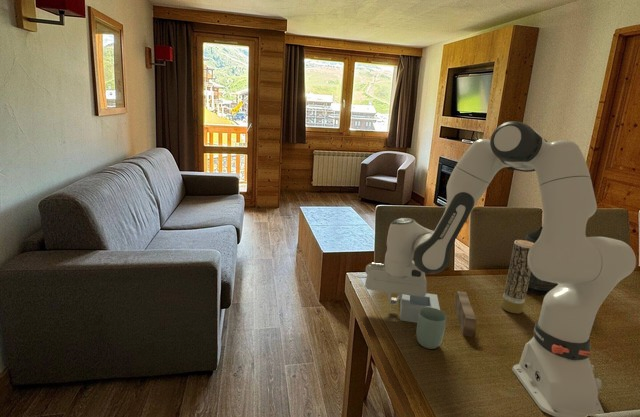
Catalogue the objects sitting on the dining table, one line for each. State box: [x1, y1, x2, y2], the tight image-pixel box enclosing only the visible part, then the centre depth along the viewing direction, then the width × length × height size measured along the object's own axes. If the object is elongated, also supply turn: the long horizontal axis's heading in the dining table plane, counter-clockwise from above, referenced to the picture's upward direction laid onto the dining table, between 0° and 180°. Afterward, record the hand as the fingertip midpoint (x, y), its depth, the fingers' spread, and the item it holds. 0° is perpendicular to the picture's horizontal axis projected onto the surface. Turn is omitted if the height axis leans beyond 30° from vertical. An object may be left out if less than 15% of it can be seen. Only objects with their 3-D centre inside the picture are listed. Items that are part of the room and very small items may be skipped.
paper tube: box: [501, 239, 534, 314], centre depth 130 cm, size 7×7×25 cm
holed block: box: [399, 292, 441, 324], centre depth 126 cm, size 12×12×5 cm
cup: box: [415, 307, 447, 350], centre depth 109 cm, size 8×8×10 cm
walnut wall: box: [454, 290, 477, 337], centre depth 124 cm, size 18×3×6 cm, turn 169°
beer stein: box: [525, 226, 558, 296], centre depth 148 cm, size 16×19×25 cm
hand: (393, 303), depth 128 cm, fingers closed
